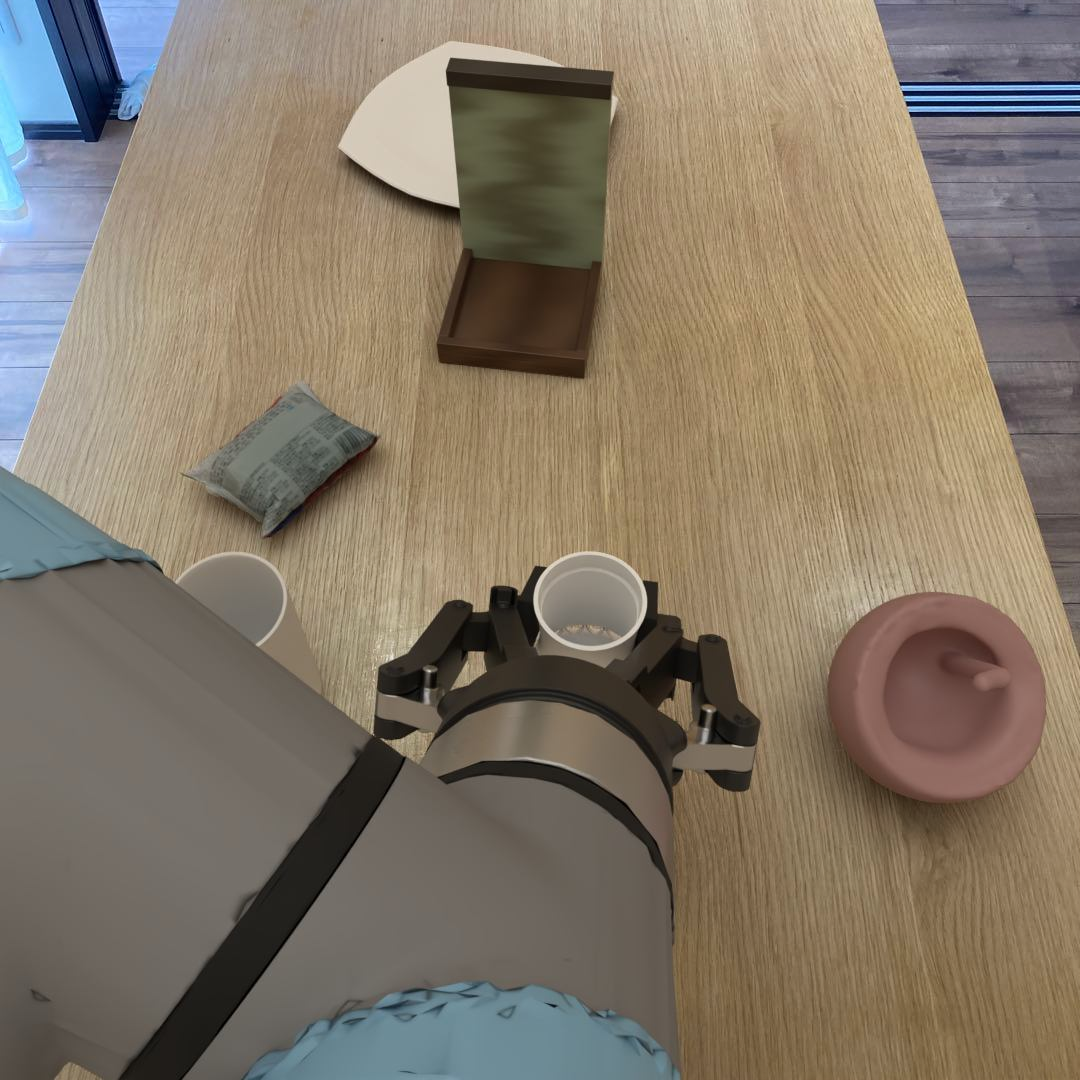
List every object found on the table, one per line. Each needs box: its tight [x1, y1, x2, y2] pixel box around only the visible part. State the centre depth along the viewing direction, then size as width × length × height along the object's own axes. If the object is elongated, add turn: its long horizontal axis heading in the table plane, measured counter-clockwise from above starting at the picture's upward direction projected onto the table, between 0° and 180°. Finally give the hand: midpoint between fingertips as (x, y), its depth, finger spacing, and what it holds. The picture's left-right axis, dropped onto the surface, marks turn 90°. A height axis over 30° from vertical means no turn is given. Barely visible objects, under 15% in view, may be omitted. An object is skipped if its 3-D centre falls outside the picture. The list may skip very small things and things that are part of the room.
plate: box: [337, 40, 619, 210], centre depth 96 cm, size 23×23×2 cm
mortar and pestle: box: [826, 591, 1047, 804], centre depth 60 cm, size 12×12×12 cm
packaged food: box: [179, 380, 382, 540], centre depth 74 cm, size 9×12×5 cm
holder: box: [436, 58, 615, 379], centre depth 77 cm, size 12×12×18 cm
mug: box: [174, 551, 323, 696], centre depth 61 cm, size 10×7×12 cm, turn 13°
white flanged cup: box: [533, 550, 647, 668], centre depth 48 cm, size 8×8×10 cm
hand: (593, 599), depth 52 cm, fingers closed on white flanged cup, 5 cm apart
